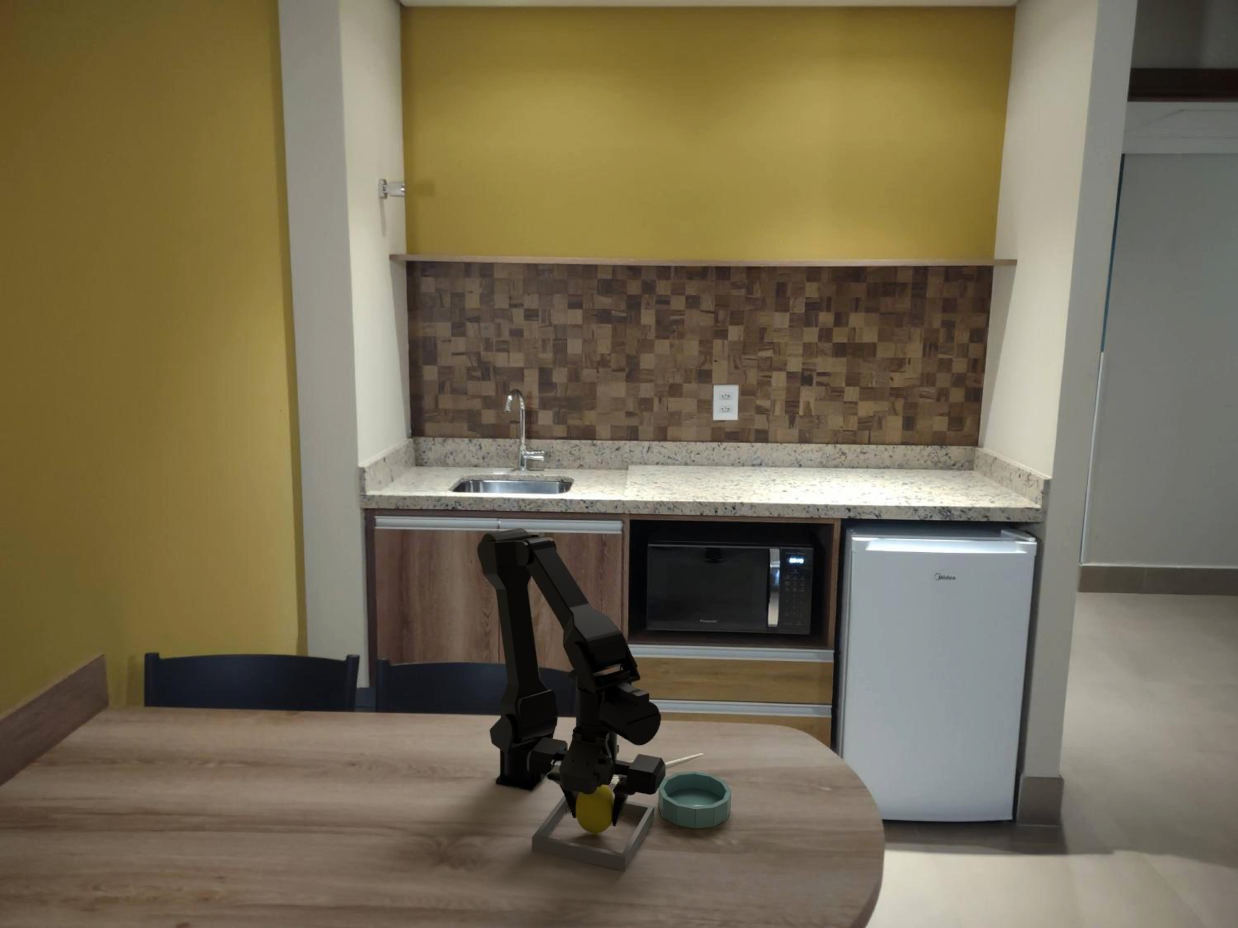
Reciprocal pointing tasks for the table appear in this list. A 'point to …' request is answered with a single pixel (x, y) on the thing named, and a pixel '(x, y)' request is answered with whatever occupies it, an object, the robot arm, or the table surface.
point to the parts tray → (586, 852)
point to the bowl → (694, 799)
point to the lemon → (595, 810)
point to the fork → (667, 764)
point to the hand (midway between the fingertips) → (595, 820)
